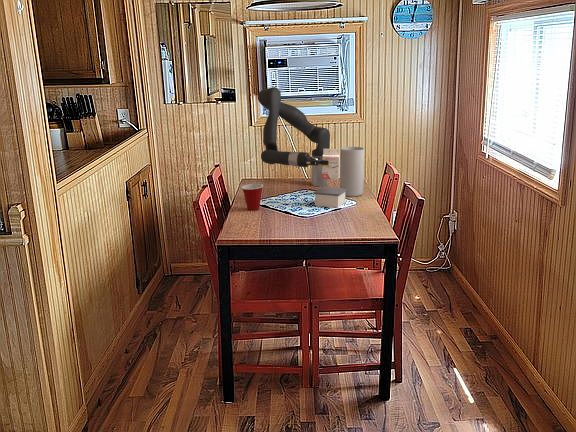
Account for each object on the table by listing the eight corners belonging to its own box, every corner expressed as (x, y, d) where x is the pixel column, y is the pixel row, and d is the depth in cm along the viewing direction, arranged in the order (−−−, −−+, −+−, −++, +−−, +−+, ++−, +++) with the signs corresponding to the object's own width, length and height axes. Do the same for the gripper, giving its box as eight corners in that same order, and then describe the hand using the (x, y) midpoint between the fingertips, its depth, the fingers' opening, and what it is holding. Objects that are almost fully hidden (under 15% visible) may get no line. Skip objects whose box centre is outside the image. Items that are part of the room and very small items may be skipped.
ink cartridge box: (321, 179, 295) (322, 149, 291) (322, 177, 300) (322, 148, 296) (338, 179, 294) (339, 150, 291) (338, 177, 299) (339, 148, 295)
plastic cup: (242, 206, 296) (241, 183, 293) (263, 206, 296) (263, 182, 293) (241, 212, 285) (240, 187, 282) (263, 211, 286) (263, 187, 283)
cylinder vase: (335, 194, 320) (335, 148, 313) (348, 190, 329) (350, 145, 322) (353, 198, 312) (355, 151, 305) (367, 194, 321) (369, 148, 314)
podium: (322, 199, 309) (322, 186, 307) (346, 202, 304) (346, 188, 302) (313, 205, 297) (313, 192, 295) (338, 208, 292) (338, 194, 290)
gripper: (293, 154, 293) (325, 156, 287) (304, 149, 306) (335, 152, 300) (293, 169, 295) (325, 171, 289) (304, 164, 308) (334, 166, 302)
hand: (330, 161), depth 295 cm, fingers closed on ink cartridge box, 6 cm apart
